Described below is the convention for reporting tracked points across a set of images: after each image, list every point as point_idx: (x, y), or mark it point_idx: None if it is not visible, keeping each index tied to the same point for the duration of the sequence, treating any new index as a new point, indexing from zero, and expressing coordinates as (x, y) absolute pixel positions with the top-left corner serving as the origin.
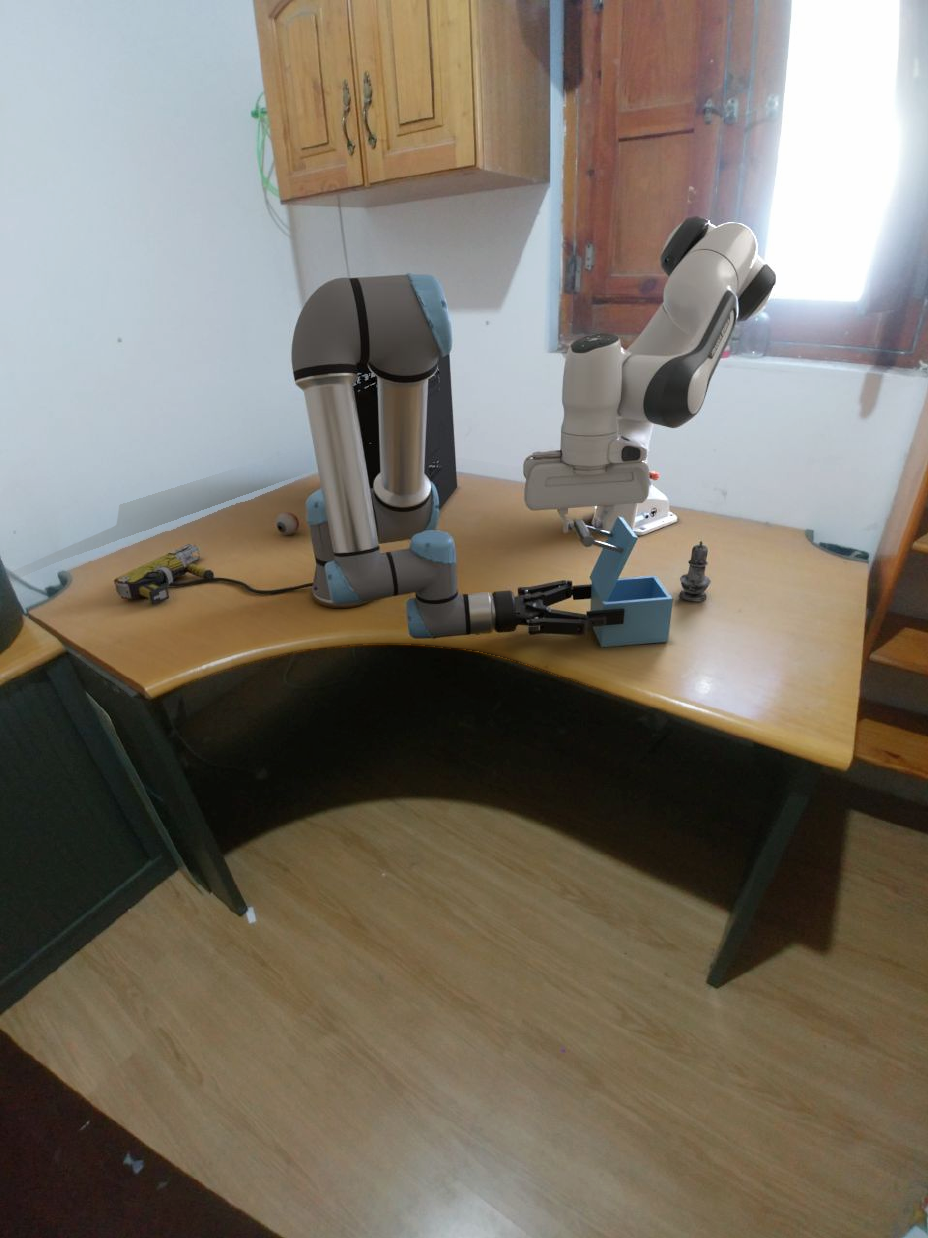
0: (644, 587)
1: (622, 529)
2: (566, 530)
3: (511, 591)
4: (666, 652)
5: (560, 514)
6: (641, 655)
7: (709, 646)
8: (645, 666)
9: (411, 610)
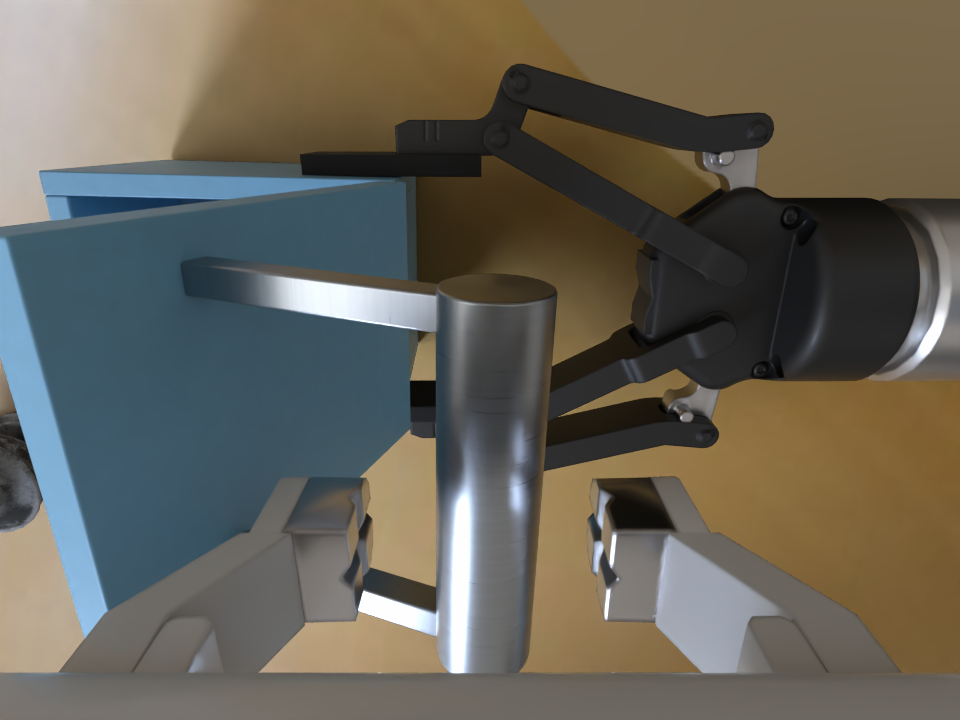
0: None
1: (125, 495)
2: (671, 482)
3: (820, 337)
4: (183, 93)
5: (843, 615)
6: (280, 87)
7: (15, 111)
8: (280, 3)
9: None
